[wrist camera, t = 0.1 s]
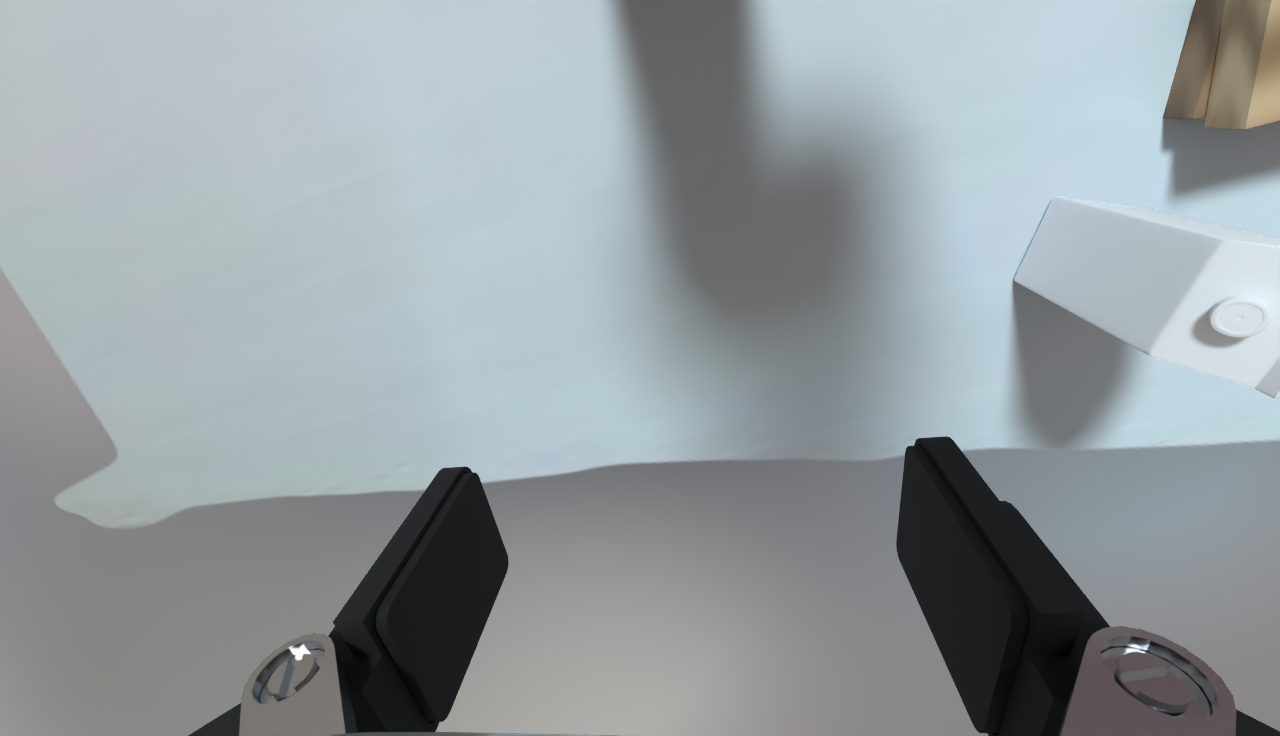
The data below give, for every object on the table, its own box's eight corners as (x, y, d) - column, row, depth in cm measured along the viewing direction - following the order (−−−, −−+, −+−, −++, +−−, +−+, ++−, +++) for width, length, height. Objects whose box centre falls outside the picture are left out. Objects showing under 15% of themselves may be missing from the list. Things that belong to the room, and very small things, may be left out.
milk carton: (1142, 207, 40) (1462, 280, 24) (1095, 291, 44) (1344, 408, 27) (1052, 194, 41) (1303, 258, 24) (1011, 280, 44) (1206, 388, 27)
